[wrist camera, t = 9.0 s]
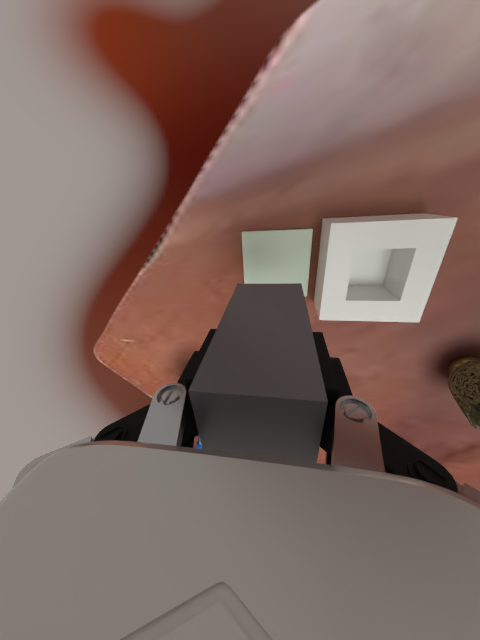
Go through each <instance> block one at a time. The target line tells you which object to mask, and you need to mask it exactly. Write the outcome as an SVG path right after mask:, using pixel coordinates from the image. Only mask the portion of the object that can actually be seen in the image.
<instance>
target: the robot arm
mask: <svg viewBox="0 0 480 640" xmlns="http://www.w3.org/2000/svg"><path fill="white" fill-rule="evenodd" d="M216 330H217V329H210V331H209V333H208V335H207V337H206V339H205V341H204V343H203V345H202V347H201V348H200V350H199V351H195V352H194V353H193V355H192V357H191V359H190V360H189V362H188V364H187V366H186V368H185V370H184V371H183V373H182V375H181V377H180V379H179V381H178V382H177V383H170V384H166V385H164V386H162V387H161V388H159V389H158V390H157V391H156V392H155V394H154V396H153V399H152V402H151V404H149V405H148V406H145V407H143V408H142V409H140V410H138V411H136V412H134V413H132V414H130V415H128V416H126V417H124V418H122V419H120V420H118V421H116V422H114V423H112V424H110V425H108V426H107V427H105V428H104V429H103V430H101V431H100V432H99V434H98V435H97V436H96V437H95V438H92V437H88V438H86V439H83V440H81V441H78V442H75V443H73V444H70V445H68V446H66V447H63V448H60V449H58V450H55V451H53V452H50V453H48V454H45V455H43V456H40V457H38V458H36V459H34V460H33V461H31V462H30V463H29V464H27V465H26V466H25V467H24V468H23V469H22V470H21V472H20V473H19V475H18V476H17V478H16V480H15V483H14V486H13V488H12V489H11V491H9V493H8V494H7V495H6V496H5V497H4V498H3V499H2V500H1V501H0V640H480V491H479V490H477V489H476V488H474V487H472V486H470V485H468V484H467V483H464V484H463V485H461V484H460V483H458V482H456V481H455V480H454V479H453V477H452V475H451V474H450V473H449V472H448V471H447V470H446V469H445V467H443V466H442V465H441V464H439V463H438V462H437V461H435V460H434V459H432V458H431V457H429V456H428V455H426V454H425V453H423V452H422V451H420V450H419V449H417V448H416V447H414V446H413V445H411V444H410V443H408V442H407V441H405V440H404V439H402V438H401V437H399V436H398V435H396V434H395V433H393V432H392V431H390V430H389V429H387V428H386V427H384V426H383V425H381V424H380V423H378V421H377V415H376V412H375V410H374V408H373V407H372V406H371V405H370V404H369V403H368V402H367V401H365V400H363V399H361V398H359V397H356V396H353V395H352V392H351V390H350V387H349V384H348V381H347V378H346V376H345V373H344V370H343V367H342V364H341V362H340V359H339V358H332V357H330V356H329V353H328V350H327V346H326V343H325V340H324V337H323V333H322V332H312V333H313V337H314V342H315V346H316V351H317V355H318V360H319V364H320V369H321V373H322V378H323V382H324V387H325V391H326V396H327V400H328V404H327V409H326V414H325V420H324V425H323V430H322V436H321V441H320V447H321V448H322V449H323V450H325V451H326V454H325V464H319V463H311V462H304V461H296V460H288V459H280V458H272V457H264V456H256V455H248V454H240V453H231V452H223V451H215V450H207V449H198V448H196V444H197V435H199V432H198V428H197V424H196V420H195V416H194V412H193V408H192V404H191V400H190V396H189V392H188V390H189V388H190V386H191V384H192V382H193V379H194V377H195V375H196V373H197V371H198V369H199V366H200V364H201V362H202V360H203V358H204V356H205V353H206V351H207V349H208V347H209V345H210V343H211V341H212V338H213V336H214V334H215V332H216Z"/></svg>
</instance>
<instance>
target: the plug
mask: <svg viewBox="0 0 480 640" xmlns="http://www.w3.org/2000/svg"><path fill="white" fill-rule="evenodd" d="M188 392H189V396H190V400H191V404H192V408H193V412H194V416H195V420H196V424H197V428H198V432H199V437H200V441H201V445H202V449H207V450H215V451H223V452H231V453H240V454H248V455H256V456H264V457H272V458H280V459H288V460H296V461H304V462H311V463H317V457H318V452H319V446H320V441H321V436H322V430H323V425H324V420H325V414H326V409H327V404H328V400H327V396H326V391H325V387H324V382H323V378H322V373H321V369H320V364H319V360H318V355H317V351H316V346H315V342H314V337H313V333H312V329H311V324H310V320H309V315H308V311H307V306H306V302H305V297H304V293H303V288H302V284H301V283H294V284H237V286H236V289H235V291H234V293H233V295H232V297H231V299H230V302H229V304H228V306H227V308H226V310H225V312H224V315H223V317H222V319H221V321H220V323H219V325H218V328H217V330H216V332H215V334H214V336H213V338H212V341H211V343H210V345H209V347H208V349H207V351H206V353H205V356H204V358H203V360H202V362H201V364H200V366H199V369H198V371H197V373H196V375H195V377H194V379H193V382H192V384H191V386H190V388H189V390H188Z"/></svg>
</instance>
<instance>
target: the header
mask: <svg viewBox="0 0 480 640" xmlns="http://www.w3.org/2000/svg"><path fill="white" fill-rule="evenodd" d="M457 219H458V218H457V217H449V216H442V215H434V214H427V213H421V214H400V215H380V216H360V217H340V218H323V220H322V229H321V238H320V248H319V257H318V267H317V276H316V286H315V295H314V304H315V307H316V311H317V314H318V318H319V320H342V321H382V322H420V319H421V316H422V314H423V311H424V308H425V305H426V303H427V300H428V297H429V295H430V292H431V289H432V287H433V284H434V281H435V278H436V276H437V273H438V270H439V268H440V265H441V262H442V260H443V257H444V254H445V251H446V249H447V246H448V243H449V241H450V238H451V235H452V232H453V230H454V227H455V224H456V222H457Z"/></svg>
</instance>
